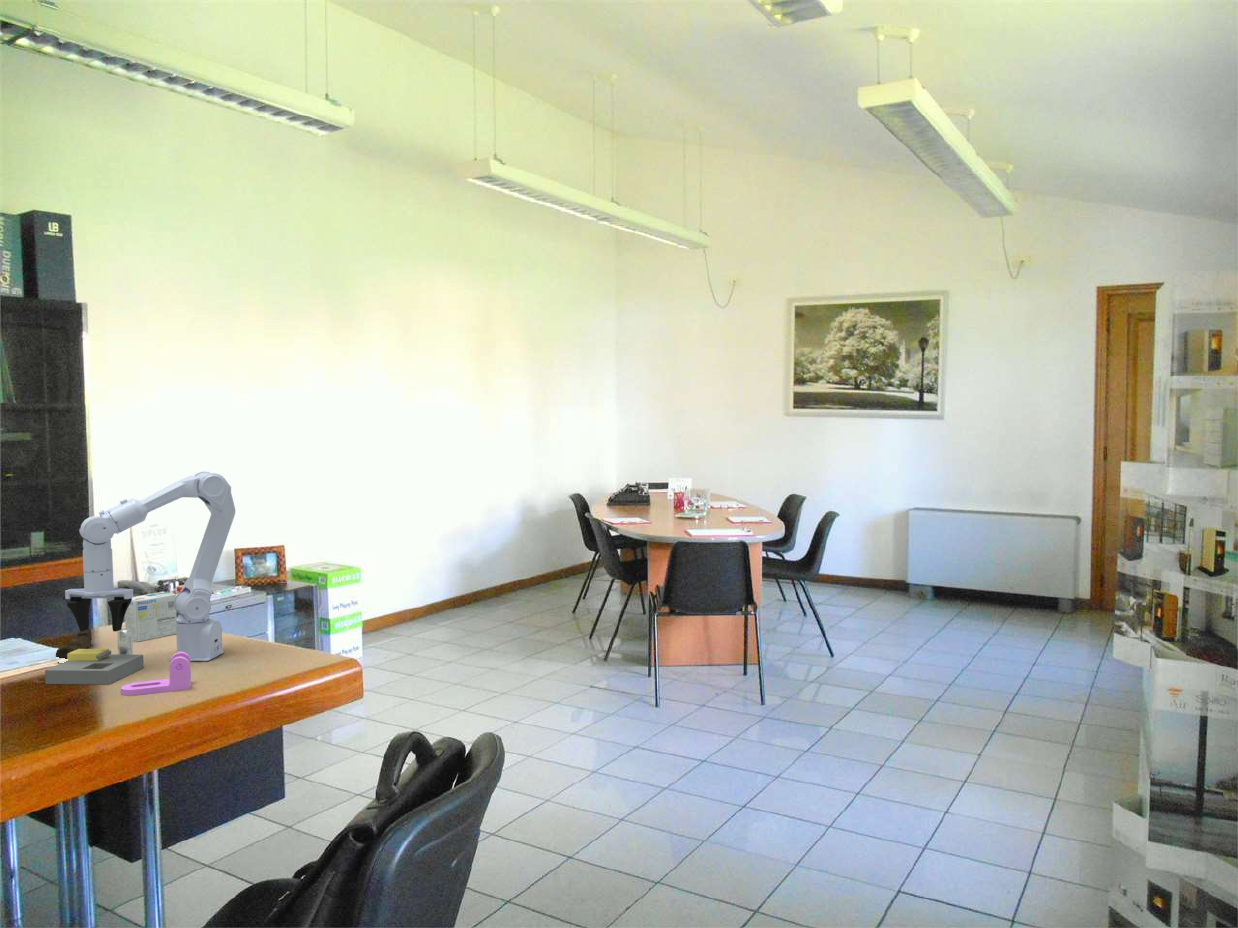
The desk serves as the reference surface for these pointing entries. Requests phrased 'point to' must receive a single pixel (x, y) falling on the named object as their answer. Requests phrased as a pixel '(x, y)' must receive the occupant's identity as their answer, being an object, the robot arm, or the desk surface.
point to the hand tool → (76, 644)
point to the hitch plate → (94, 670)
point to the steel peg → (125, 641)
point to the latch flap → (88, 654)
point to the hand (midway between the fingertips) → (100, 630)
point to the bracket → (177, 681)
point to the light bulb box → (151, 616)
